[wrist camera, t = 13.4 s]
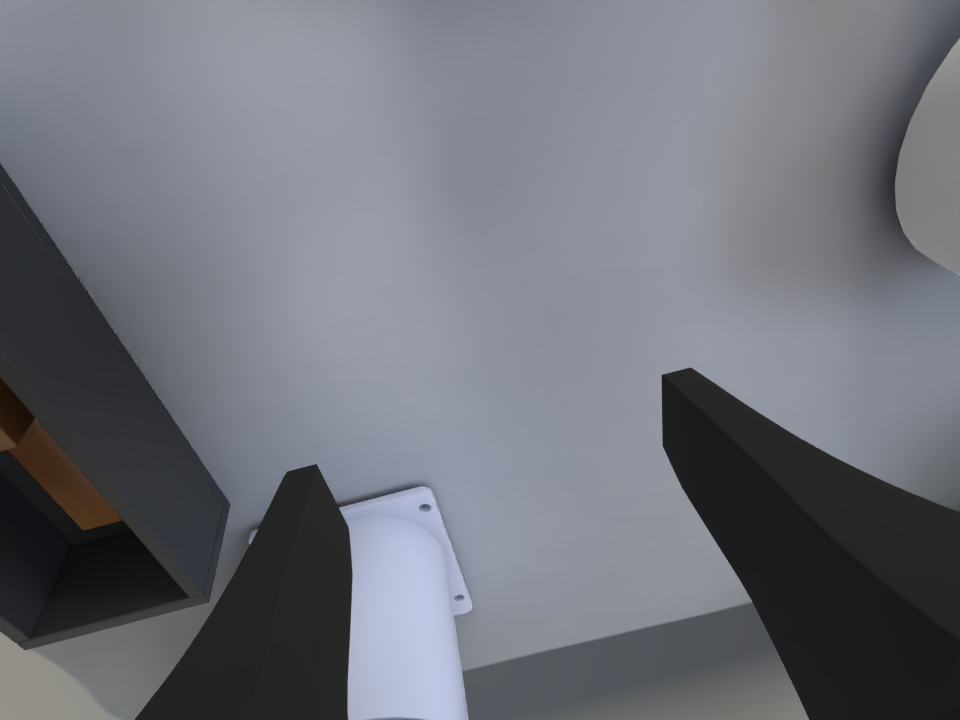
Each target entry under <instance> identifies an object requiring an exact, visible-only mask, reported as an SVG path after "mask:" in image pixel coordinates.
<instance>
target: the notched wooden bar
mask: <svg viewBox="0 0 960 720" xmlns="http://www.w3.org/2000/svg"><path fill="white" fill-rule="evenodd" d="M4 450H8V451H9V452H10V453H11V454H12V455H13V456H14V457H15V458H16V460H17V461H18V462H19V463H20V464H21V465H22V466H23V467H24V468H25V469H26V470H27V471H28V472H29V473H30V474H31V476H32V477H33V478H34V479H35V480H36V481H37V482H38V483H39V484H40V485H41V486H42V487H43V488H44V489H45V491H46V492H47V493H48V494H49V495H50V496H51V497H52V498H53V499H54V500H55V501H56V502H57V503H58V504H59V505H60V507H61V508H62V509H63V510H64V511H65V512H66V513H67V514H68V515H69V516H70V517H71V518H72V519H73V520H74V521H75V523H76V524H77V525H78V526H79V527H80V528H81V529H82V530H88V529H92V528H95V527H99V526H103V525H107V524H111V523H115V522H119V521H123V520H122V518H121V517H120V516H119V515H118V514H117V513H116V511H115V510H114V509H113V508H112V507H111V506H110V504H109V503H108V502H107V501H106V500H105V499H104V497H103V496H102V495H101V494H100V493H99V492H98V490H97V489H96V488H95V487H94V486H93V485H92V483H91V482H90V481H89V480H88V479H87V478H86V476H85V475H84V474H83V473H82V472H81V471H80V469H79V468H78V467H77V466H76V465H75V464H74V462H73V461H72V460H71V459H70V458H69V457H68V455H67V454H66V453H65V452H64V451H63V450H62V448H61V447H60V446H59V445H58V444H57V443H56V441H55V440H54V439H53V438H52V437H51V436H50V434H49V433H48V432H47V431H46V430H45V429H44V427H43V426H42V425H41V424H40V423H39V422H38V420H37V419H36V418H35V417H34V416H33V415H32V414H31V412H30V411H29V410H28V409H27V408H26V407H25V405H24V404H23V403H22V402H21V401H20V400H19V398H18V397H17V396H16V395H15V394H14V393H13V391H12V390H11V389H10V388H9V387H8V386H7V384H6V383H5V382H4V381H3V380H2V379H1V377H0V451H4Z"/></svg>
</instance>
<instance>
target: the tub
mask: <svg viewBox="0 0 960 720" xmlns="http://www.w3.org/2000/svg"><path fill="white" fill-rule="evenodd" d="M0 377H1V379H2V380H3V381H4V382H5V383H6V384H7V386H8V387H9V388H10V389H11V390H12V391H13V393H14V394H15V395H16V396H17V397H18V398H19V400H20V401H21V402H22V403H23V404H24V405H25V407H26V408H27V409H28V410H29V411H30V412H31V414H32V415H33V416H34V417H35V418H36V419H37V420H38V422H39V423H40V424H41V425H42V426H43V427H44V429H45V430H46V431H47V432H48V433H49V434H50V436H51V437H52V438H53V439H54V440H55V441H56V443H57V444H58V445H59V446H60V447H61V448H62V450H63V451H64V452H65V453H66V454H67V455H68V457H69V458H70V459H71V460H72V461H73V462H74V464H75V465H76V466H77V467H78V468H79V469H80V471H81V472H82V473H83V474H84V475H85V476H86V478H87V479H88V480H89V481H90V482H91V483H92V485H93V486H94V487H95V488H96V489H97V490H98V492H99V493H100V494H101V495H102V496H103V497H104V499H105V500H106V501H107V502H108V503H109V504H110V506H111V507H112V508H113V509H114V510H115V511H116V513H117V514H118V515H119V516H120V517H121V518H122V520H123V521H119V522H115V523H111V524H107V525H103V526H99V527H95V528H92V529H88V530H82V529H81V528H80V527H79V526H78V525H77V524H76V523H75V521H74V520H73V519H72V518H71V517H70V516H69V515H68V514H67V513H66V512H65V511H64V510H63V509H62V508H61V507H60V505H59V504H58V503H57V502H56V501H55V500H54V499H53V498H52V497H51V496H50V495H49V494H48V493H47V492H46V491H45V489H44V488H43V487H42V486H41V485H40V484H39V483H38V482H37V481H36V480H35V479H34V478H33V477H32V476H31V474H30V473H29V472H28V471H27V470H26V469H25V468H24V467H23V466H22V465H21V464H20V463H19V462H18V461H17V460H16V458H15V457H14V456H13V455H12V454H11V453H10V452H9V451H8V450H4V451H0V631H1V632H2V633H4V634H5V635H6V636H7V637H9V638H10V639H11V640H12V641H14V642H15V643H17V644H18V645H19V646H20V647H21V648H23V649H24V650H28V649H32V648H35V647H39V646H43V645H47V644H51V643H55V642H58V641H62V640H66V639H70V638H74V637H77V636H81V635H85V634H89V633H93V632H97V631H100V630H104V629H108V628H112V627H116V626H119V625H123V624H127V623H131V622H135V621H139V620H142V619H146V618H150V617H154V616H158V615H161V614H165V613H169V612H173V611H177V610H181V609H184V608H188V607H192V606H196V605H200V604H203V603H207V602H209V600H210V596H211V591H212V586H213V582H214V577H215V573H216V568H217V563H218V559H219V554H220V550H221V545H222V540H223V536H224V531H225V527H226V522H227V517H228V513H229V508H230V504H229V502H228V501H227V499H226V498H225V496H224V495H223V493H222V492H221V490H220V489H219V487H218V486H217V484H216V483H215V481H214V480H213V478H212V477H211V475H210V474H209V472H208V471H207V469H206V468H205V467H204V465H203V464H202V462H201V461H200V459H199V458H198V456H197V455H196V453H195V452H194V450H193V449H192V447H191V446H190V444H189V443H188V441H187V440H186V438H185V437H184V435H183V434H182V432H181V431H180V429H179V428H178V426H177V425H176V423H175V422H174V421H173V419H172V418H171V416H170V415H169V413H168V412H167V410H166V409H165V407H164V406H163V404H162V403H161V401H160V400H159V398H158V397H157V395H156V394H155V392H154V391H153V389H152V388H151V386H150V385H149V383H148V382H147V380H146V379H145V378H144V376H143V375H142V373H141V372H140V370H139V369H138V367H137V366H136V364H135V363H134V361H133V360H132V358H131V357H130V355H129V354H128V352H127V351H126V349H125V348H124V346H123V345H122V343H121V342H120V340H119V339H118V337H117V336H116V335H115V333H114V332H113V330H112V329H111V327H110V326H109V324H108V323H107V321H106V320H105V318H104V317H103V315H102V314H101V312H100V311H99V309H98V308H97V306H96V305H95V303H94V302H93V300H92V299H91V297H90V296H89V294H88V293H87V292H86V290H85V289H84V287H83V286H82V284H81V283H80V281H79V280H78V278H77V277H76V275H75V274H74V272H73V271H72V269H71V268H70V266H69V265H68V263H67V262H66V260H65V259H64V257H63V256H62V254H61V253H60V251H59V250H58V248H57V247H56V246H55V244H54V243H53V241H52V240H51V238H50V237H49V235H48V234H47V232H46V231H45V229H44V228H43V226H42V225H41V223H40V222H39V220H38V219H37V217H36V216H35V214H34V213H33V211H32V210H31V208H30V207H29V205H28V204H27V203H26V201H25V200H24V198H23V197H22V195H21V194H20V192H19V191H18V189H17V188H16V186H15V185H14V183H13V182H12V180H11V179H10V177H9V176H8V174H7V173H6V171H5V170H4V168H3V167H2V165H1V164H0Z"/></svg>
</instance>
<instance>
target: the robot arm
mask: <svg viewBox="0 0 960 720" xmlns="http://www.w3.org/2000/svg"><path fill="white" fill-rule="evenodd" d="M662 426H663V447H664V450H665V452H666V454H667V456H668V458H669V461H670V463H671V465H672V467H673V469H674V471H675V474H676V476H677V478H678V480H679V482H680V484H681V486H682V488H683V490H684V491H685V493H686V495H687V496H688V498H689V500H690V501H691V503H692V504H693V506H694V508H695V509H696V511H697V512H698V514H699V516H700V517H701V519H702V521H703V522H704V524H705V525H706V527H707V528H708V530H709V532H710V533H711V535H712V536H713V538H714V540H715V541H716V543H717V544H718V546H719V547H720V549H721V551H722V552H723V554H724V555H725V557H726V558H727V560H728V562H729V563H730V565H731V566H732V568H733V570H734V571H735V573H736V574H737V576H738V577H739V579H740V581H741V583H742V584H743V586H744V588H745V589H746V591H747V593H748V595H749V596H750V598H751V600H752V602H753V604H754V606H755V608H756V610H757V612H758V614H759V616H760V618H761V620H762V622H763V624H764V625H765V628H766V630H767V632H768V633H769V635H770V638H771V640H772V642H773V644H774V645H775V648H776V650H777V652H778V654H779V656H780V658H781V660H782V662H783V664H784V667H785V669H786V671H787V673H788V675H789V677H790V679H791V681H792V683H793V685H794V687H795V689H796V692H797V694H798V696H799V698H800V700H801V702H802V704H803V707H804V709H805V711H806V713H807V716H808V718H809V720H960V512H957V511H954V510H952V509H949V508H947V507H944V506H942V505H939V504H937V503H934V502H932V501H929V500H927V499H924V498H922V497H919V496H917V495H914V494H912V493H909V492H907V491H905V490H902V489H900V488H898V487H895V486H893V485H891V484H889V483H886V482H884V481H882V480H880V479H878V478H876V477H874V476H872V475H869V474H867V473H865V472H863V471H861V470H859V469H857V468H855V467H853V466H850V465H848V464H847V463H845V462H843V461H841V460H839V459H837V458H835V457H833V456H831V455H829V454H827V453H826V452H824V451H822V450H820V449H818V448H816V447H815V446H813V445H811V444H809V443H807V442H806V441H804V440H802V439H800V438H799V437H797V436H795V435H794V434H792V433H790V432H789V431H787V430H785V429H784V428H782V427H780V426H779V425H777V424H776V423H774V422H772V421H771V420H769V419H768V418H766V417H764V416H763V415H761V414H760V413H758V412H756V411H755V410H753V409H752V408H750V407H749V406H747V405H746V404H744V403H743V402H741V401H740V400H738V399H737V398H735V397H734V396H732V395H731V394H729V393H728V392H726V391H725V390H723V389H722V388H720V387H719V386H718V385H716V384H715V383H713V382H712V381H710V380H709V379H707V378H706V377H704V376H703V375H701V374H700V373H698V372H697V371H695V370H694V369H692V368H687V369H683V370H679V371H675V372H672V373H668V374H664V375H662ZM423 504H427V505H423ZM422 505H423V506H422ZM248 543H249V545H250V546H249V548H248V549H247V551H246V553H245V555H244V557H243V559H242V561H241V563H240V565H239V566H238V568H237V570H236V572H235V574H234V575H233V577H232V579H231V580H230V582H229V584H228V586H227V587H226V589H225V591H224V592H223V594H222V596H221V597H220V599H219V601H218V603H217V604H216V606H215V608H214V609H213V611H212V613H211V614H210V616H209V617H208V619H207V621H206V622H205V624H204V625H203V627H202V628H201V630H200V631H199V633H198V634H197V636H196V637H195V639H194V641H193V642H192V643H191V645H190V646H189V648H188V649H187V651H186V652H185V654H184V655H183V657H182V658H181V659H180V661H179V662H178V664H177V665H176V667H175V668H174V669H173V671H172V672H171V673H170V675H169V676H168V677H167V679H166V680H165V681H164V683H163V684H162V685H161V687H160V688H159V689H158V690H157V692H156V693H155V694H154V696H153V697H152V698H151V699H150V701H149V702H148V703H147V705H146V706H145V707H144V708H143V710H142V711H141V712H140V713H139V715H138V716H137V717H136V719H135V720H469V718H468V711H467V704H466V697H465V690H464V683H463V676H462V669H461V662H460V655H459V647H458V640H457V633H456V626H455V619H454V616H458V615H462V614H465V613H468V612H469V611H470V610H471V609H472V601H471V598H470V595H469V592H468V589H467V587H466V584H465V581H464V578H463V575H462V573H461V570H460V567H459V564H458V561H457V559H456V556H455V553H454V550H453V548H452V545H451V542H450V539H449V536H448V534H447V531H446V528H445V525H444V522H443V520H442V517H441V514H440V511H439V509H438V506H437V503H436V500H435V497H434V495H433V492H432V490H431V489H430V488H428V487H423V486H422V487H416V488H412V489H409V490H405V491H401V492H397V493H393V494H389V495H386V496H382V497H378V498H374V499H370V500H366V501H362V502H359V503H355V504H351V505H347V506H343V507H338V505H337V503H336V501H335V499H334V497H333V495H332V493H331V491H330V489H329V487H328V486H327V484H326V482H325V480H324V478H323V476H322V474H321V472H320V470H319V468H318V466H317V464H315V465H311V466H307V467H304V468H300V469H296V470H292V471H288V472H287V473H286V474H285V476H284V478H283V480H282V482H281V484H280V486H279V488H278V490H277V492H276V494H275V496H274V498H273V500H272V502H271V504H270V506H269V508H268V510H267V512H266V514H265V516H264V518H263V520H262V522H261V524H260V526H259V528H258V529H256V530H253V531H252V532H251V533H250V535H249V540H248Z"/></svg>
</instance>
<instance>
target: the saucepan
mask: <svg viewBox="0 0 960 720" xmlns="http://www.w3.org/2000/svg"><path fill="white" fill-rule="evenodd" d="M895 199H896V212H897V215H898V218H899V221H900V224H901V227H902V230H903V233H904V234H905V235H906V237H907V238H908V239H909V241H910V242H911V244H912V245H913V246H914V248H915V249H916V250H918V251H919V252H921V253H922V254H923V255H925V256H926V257H928V258H929V259H931V260H932V261H934V262H936V263H937V264H939V265H941V266H943V267H944V268H946V269H948V270H950V271H951V272H953V273H955V274H957V275H959V276H960V39H959V40H958V41H957V42H956V44H955V45H954V46H953V47H952V49H951V50H950V52H949V53H948V55H947V56H946V58H945V59H944V61H943V62H942V64H941V65H940V67H939V68H938V70H937V71H936V73H935V74H934V76H933V77H932V79H931V81H930V82H929V84H928V85H927V87H926V89H925V91H924V93H923V95H922V97H921V100H920V102H919V104H918V106H917V108H916V110H915V112H914V114H913V116H912V118H911V120H910V123H909V126H908V129H907V132H906V135H905V138H904V141H903V144H902V147H901V150H900V153H899V159H898V165H897V172H896V179H895Z"/></svg>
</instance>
